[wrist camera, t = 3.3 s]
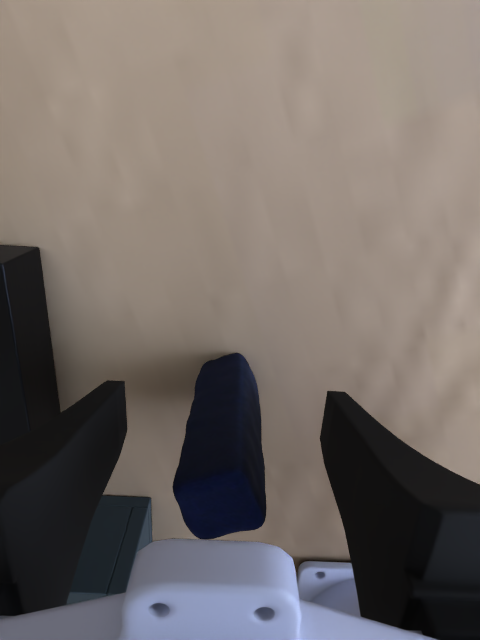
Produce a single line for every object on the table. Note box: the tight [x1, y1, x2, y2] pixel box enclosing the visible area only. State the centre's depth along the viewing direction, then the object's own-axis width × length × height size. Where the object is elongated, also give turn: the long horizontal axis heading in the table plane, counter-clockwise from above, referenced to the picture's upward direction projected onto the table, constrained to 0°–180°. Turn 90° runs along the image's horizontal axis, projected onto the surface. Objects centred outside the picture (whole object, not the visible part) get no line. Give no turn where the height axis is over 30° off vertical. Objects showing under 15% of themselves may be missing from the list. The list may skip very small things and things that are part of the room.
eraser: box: [173, 353, 266, 539], centre depth 14 cm, size 2×2×7 cm
